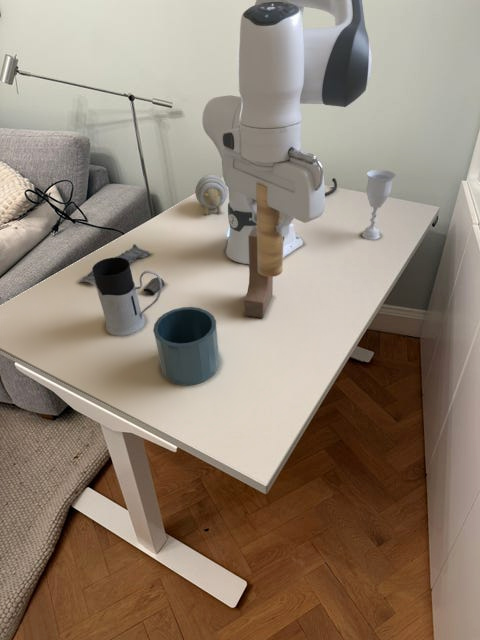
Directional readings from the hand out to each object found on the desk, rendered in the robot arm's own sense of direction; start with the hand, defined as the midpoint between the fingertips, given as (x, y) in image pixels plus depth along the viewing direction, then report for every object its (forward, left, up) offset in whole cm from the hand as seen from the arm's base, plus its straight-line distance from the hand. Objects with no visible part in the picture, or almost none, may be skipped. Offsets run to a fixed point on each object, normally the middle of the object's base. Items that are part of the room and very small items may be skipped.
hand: (270, 228), depth 72 cm
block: (+6, -36, -28) cm, 46 cm away
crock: (+14, -8, -28) cm, 32 cm away
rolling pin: (0, 0, -8) cm, 8 cm away
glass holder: (+16, -27, -28) cm, 42 cm away
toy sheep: (-33, -66, -28) cm, 79 cm away
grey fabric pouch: (+9, -52, -28) cm, 60 cm away
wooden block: (-9, -14, -28) cm, 32 cm away
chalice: (-56, -19, -28) cm, 65 cm away
